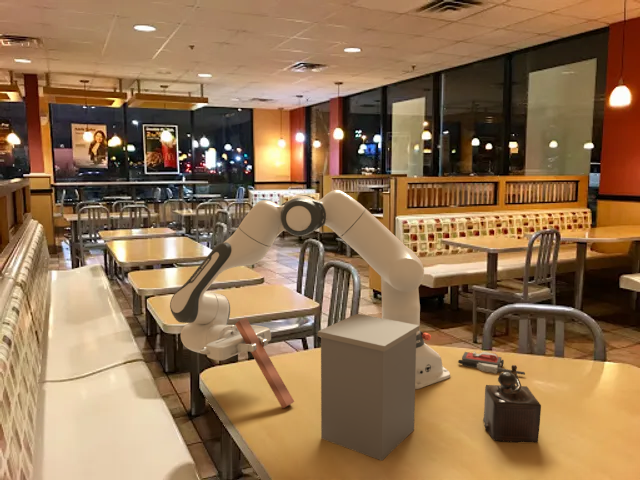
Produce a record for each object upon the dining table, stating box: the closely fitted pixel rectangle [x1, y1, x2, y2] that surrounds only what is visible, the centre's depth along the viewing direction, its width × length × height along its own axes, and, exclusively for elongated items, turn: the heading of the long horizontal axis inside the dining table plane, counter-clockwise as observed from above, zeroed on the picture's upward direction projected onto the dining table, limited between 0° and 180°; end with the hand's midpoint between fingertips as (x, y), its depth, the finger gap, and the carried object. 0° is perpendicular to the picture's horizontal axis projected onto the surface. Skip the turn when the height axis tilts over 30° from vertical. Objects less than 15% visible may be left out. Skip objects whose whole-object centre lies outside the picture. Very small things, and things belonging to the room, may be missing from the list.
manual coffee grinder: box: [482, 364, 542, 443], centre depth 121 cm, size 16×11×18 cm
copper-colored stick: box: [235, 317, 295, 409], centre depth 141 cm, size 26×3×2 cm
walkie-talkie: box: [457, 351, 526, 376], centre depth 163 cm, size 9×4×20 cm
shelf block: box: [317, 313, 420, 461], centre depth 122 cm, size 17×17×26 cm
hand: (260, 345), depth 141 cm, fingers closed on copper-colored stick, 3 cm apart
